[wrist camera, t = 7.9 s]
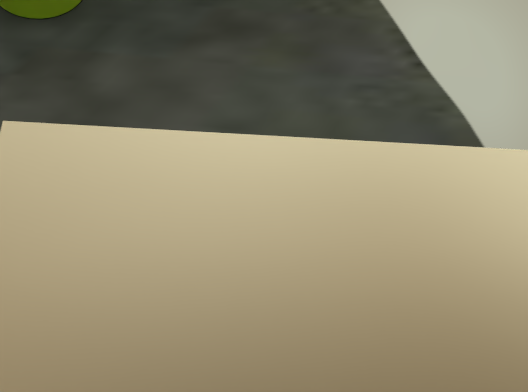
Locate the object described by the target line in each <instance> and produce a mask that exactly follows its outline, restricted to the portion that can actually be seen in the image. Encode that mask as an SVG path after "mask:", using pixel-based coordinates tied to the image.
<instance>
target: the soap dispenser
mask: <svg viewBox="0 0 528 392" xmlns="http://www.w3.org/2000/svg"><path fill="white" fill-rule="evenodd" d="M80 2H81V0H0V6H1V7H2V8H4V9H5V10H7V11H9V12H10V13H13V14H15V15H18V16H21V17H26V18H35V19H42V18H50V17H55V16H58V15H61V14H64V13H66V12H68V11H70V10H71V9H73V8H74V7H76V6H77V5H78V4H79V3H80Z"/></svg>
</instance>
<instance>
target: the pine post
mask: <svg viewBox="0 0 528 392" xmlns="http://www.w3.org/2000/svg"><path fill="white" fill-rule="evenodd" d="M0 392H528V150H517V149H499V148H481V147H463V146H445V145H427V144H409V143H391V142H373V141H355V140H337V139H319V138H301V137H283V136H265V135H247V134H229V133H211V132H193V131H175V130H157V129H139V128H121V127H103V126H85V125H67V124H49V123H31V122H13V121H3V123H2V128H1V132H0Z"/></svg>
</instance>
